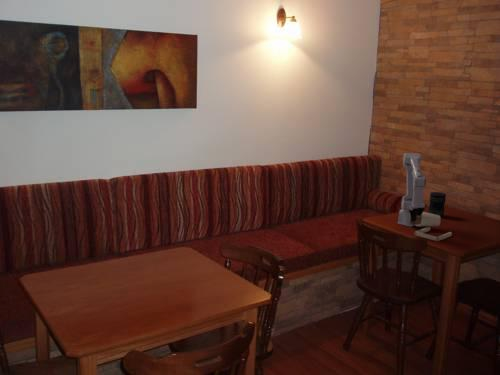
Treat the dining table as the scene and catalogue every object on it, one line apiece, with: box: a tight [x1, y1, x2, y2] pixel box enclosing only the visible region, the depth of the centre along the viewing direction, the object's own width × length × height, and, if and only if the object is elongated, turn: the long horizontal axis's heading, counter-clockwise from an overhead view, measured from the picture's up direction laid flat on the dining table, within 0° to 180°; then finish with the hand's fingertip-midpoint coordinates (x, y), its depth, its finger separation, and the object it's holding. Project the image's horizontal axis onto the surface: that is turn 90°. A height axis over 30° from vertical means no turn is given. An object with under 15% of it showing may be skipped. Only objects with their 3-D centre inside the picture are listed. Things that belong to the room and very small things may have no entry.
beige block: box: [410, 215, 422, 226], centre depth 298 cm, size 4×4×4 cm
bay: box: [413, 226, 453, 242], centre depth 294 cm, size 14×16×2 cm
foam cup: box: [415, 211, 441, 228], centre depth 307 cm, size 10×9×13 cm
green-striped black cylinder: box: [427, 191, 447, 219], centre depth 336 cm, size 10×10×15 cm
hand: (415, 220), depth 298 cm, fingers closed on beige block, 4 cm apart
